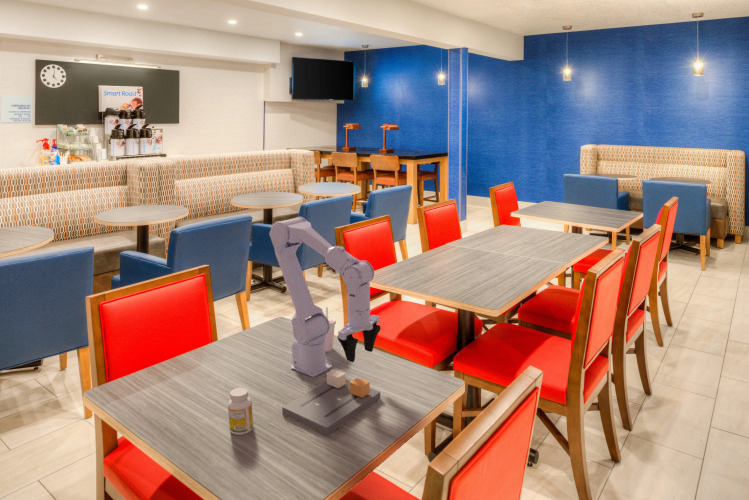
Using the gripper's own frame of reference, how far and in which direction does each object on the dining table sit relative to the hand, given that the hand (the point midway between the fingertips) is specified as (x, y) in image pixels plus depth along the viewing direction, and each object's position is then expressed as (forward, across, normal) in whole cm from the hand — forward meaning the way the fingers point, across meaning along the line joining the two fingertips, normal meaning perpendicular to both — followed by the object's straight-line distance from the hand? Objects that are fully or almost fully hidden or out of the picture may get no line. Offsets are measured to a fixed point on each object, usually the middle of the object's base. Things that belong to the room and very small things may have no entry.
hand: (359, 355), depth 141 cm
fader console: (+9, -13, -2) cm, 15 cm away
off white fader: (+6, -7, +3) cm, 10 cm away
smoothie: (+9, +11, +23) cm, 27 cm away
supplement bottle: (+9, -33, +9) cm, 35 cm away
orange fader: (+6, -7, -5) cm, 11 cm away
